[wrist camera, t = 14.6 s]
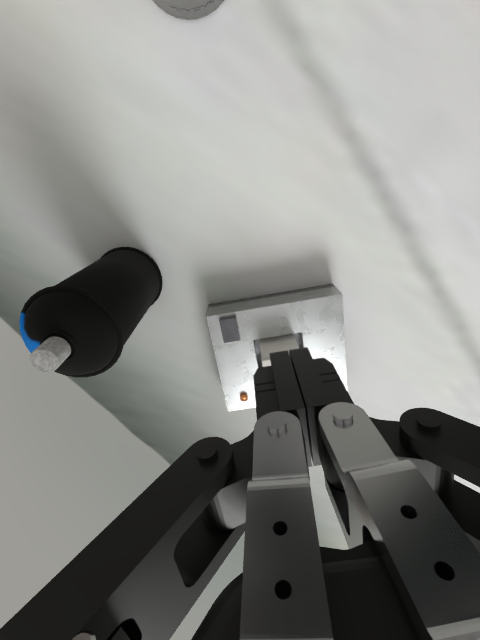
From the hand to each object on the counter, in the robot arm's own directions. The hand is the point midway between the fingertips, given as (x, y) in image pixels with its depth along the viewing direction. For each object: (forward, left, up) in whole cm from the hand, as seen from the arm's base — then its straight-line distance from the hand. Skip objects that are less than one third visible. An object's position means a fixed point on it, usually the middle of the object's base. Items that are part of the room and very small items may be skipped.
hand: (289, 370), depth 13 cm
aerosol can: (+2, -16, -29) cm, 33 cm away
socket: (+14, +1, -29) cm, 32 cm away
